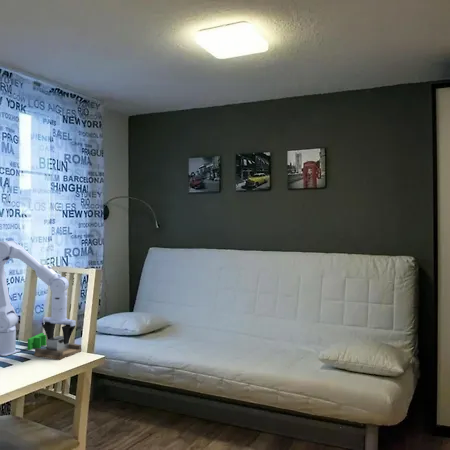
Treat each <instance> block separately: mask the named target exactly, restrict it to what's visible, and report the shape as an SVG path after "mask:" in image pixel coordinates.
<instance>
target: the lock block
mask: <svg viewBox="0 0 450 450" xmlns="http://www.w3.org/2000/svg"><path fill="white" fill-rule="evenodd" d="M69 343H70V342H69ZM69 343H68V344H64V336H63V335H57V336H54V337H53V338H50V339H48V338H46V349H49V350H56V351H66V350H69Z"/></svg>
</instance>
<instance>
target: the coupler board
mask: <svg viewBox="0 0 450 450" xmlns="http://www.w3.org/2000/svg"><path fill="white" fill-rule="evenodd" d="M79 353H82V344H78V343H70V342H69V350H66V351H56V350H49V349H47V348H34V354H33V355H34V356H33V357H38V358H39V357H40V358H46V359H51V360H52V359H53V360H58V361H60V360H62V359H65V357H66V358H68V357H71V356H72V355H76V354H79Z"/></svg>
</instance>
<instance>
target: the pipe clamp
mask: <svg viewBox="0 0 450 450" xmlns="http://www.w3.org/2000/svg"><path fill="white" fill-rule="evenodd" d="M44 346H46V347H47V335H46V334H45V333H44V332H41V333H38V334H36V335H33V336H31V337H30V338H27V351H28V350H29V351H31V350H33V349H36V348H41V347H44Z"/></svg>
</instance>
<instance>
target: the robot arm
mask: <svg viewBox="0 0 450 450" xmlns="http://www.w3.org/2000/svg"><path fill="white" fill-rule="evenodd" d="M10 259H17V260H20V261H21V262H23V263H24V264H25V265H27V266H28V267H30V269H32V270H34V271H35V276H36V277H37V278H38V279H40V281H42V282H43V283H44V284H46V286H49V289H50V291H51V292H52V293H51V313H50V314H51V316H47V317H45V316H44V317H42V323H43V324H42V328H43V330H44V332H45V335H46V339H50V338H53V337H55V329H56V325H62V326H61V330H62V336H64V344H68V343H70V339H71V336H72V333H73V331H74V330H75V329H76V320H75V319H69V318H67V315H68V314H67V313H68V312H67V311H68V289H69V286H70V282H69V280H68V279H67V277H66V276H62V274H60V273H58V272H56V271H55V270H54V269H52V268H53V266H51V265H48V264H42V263H40V262H39V261H38V260H37V259H36V258H35V257H34V256H33V255H31V254H30V253H29V252H28V251H27V250H26V249H25V248H24V247H23V246H22V245H21V244H18V242H16V241H14V240H8V241H3V240H2V241H0V356H2V357H7V356H10V355H13V354H17V353H19V352H21V351H22V349H21V350H20V349H17V348H16V343H17V341H16V340H17V339H16V338H17V329H16V328H17V327H16V326H17V324H19V315H18V314H17V313H16V310H15V307H14V306H13V305H12V304H11V298H10V293H9V292H10V291H9V287H8V282H7V278H6V272H5V265H6V264H7V262H8V261H9V260H10Z"/></svg>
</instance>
